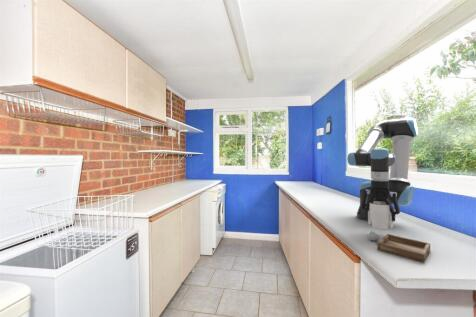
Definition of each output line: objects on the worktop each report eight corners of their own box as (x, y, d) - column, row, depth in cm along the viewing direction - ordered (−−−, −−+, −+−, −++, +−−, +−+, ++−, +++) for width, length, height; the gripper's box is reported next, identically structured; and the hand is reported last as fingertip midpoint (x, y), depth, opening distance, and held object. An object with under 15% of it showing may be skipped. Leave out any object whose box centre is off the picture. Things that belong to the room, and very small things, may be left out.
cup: (394, 230, 103) (394, 205, 103) (373, 229, 105) (373, 205, 105) (386, 224, 112) (385, 201, 112) (366, 223, 114) (366, 200, 113)
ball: (369, 238, 104) (369, 229, 104) (379, 240, 101) (379, 232, 101) (366, 240, 101) (366, 231, 101) (376, 242, 98) (376, 234, 98)
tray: (387, 240, 101) (387, 234, 101) (430, 250, 90) (430, 243, 90) (377, 249, 91) (377, 242, 91) (424, 262, 80) (424, 254, 80)
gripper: (353, 179, 113) (354, 222, 114) (404, 182, 97) (405, 232, 98) (359, 177, 118) (359, 219, 119) (408, 180, 102) (408, 228, 103)
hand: (380, 225), depth 108 cm, fingers closed on cup, 9 cm apart
